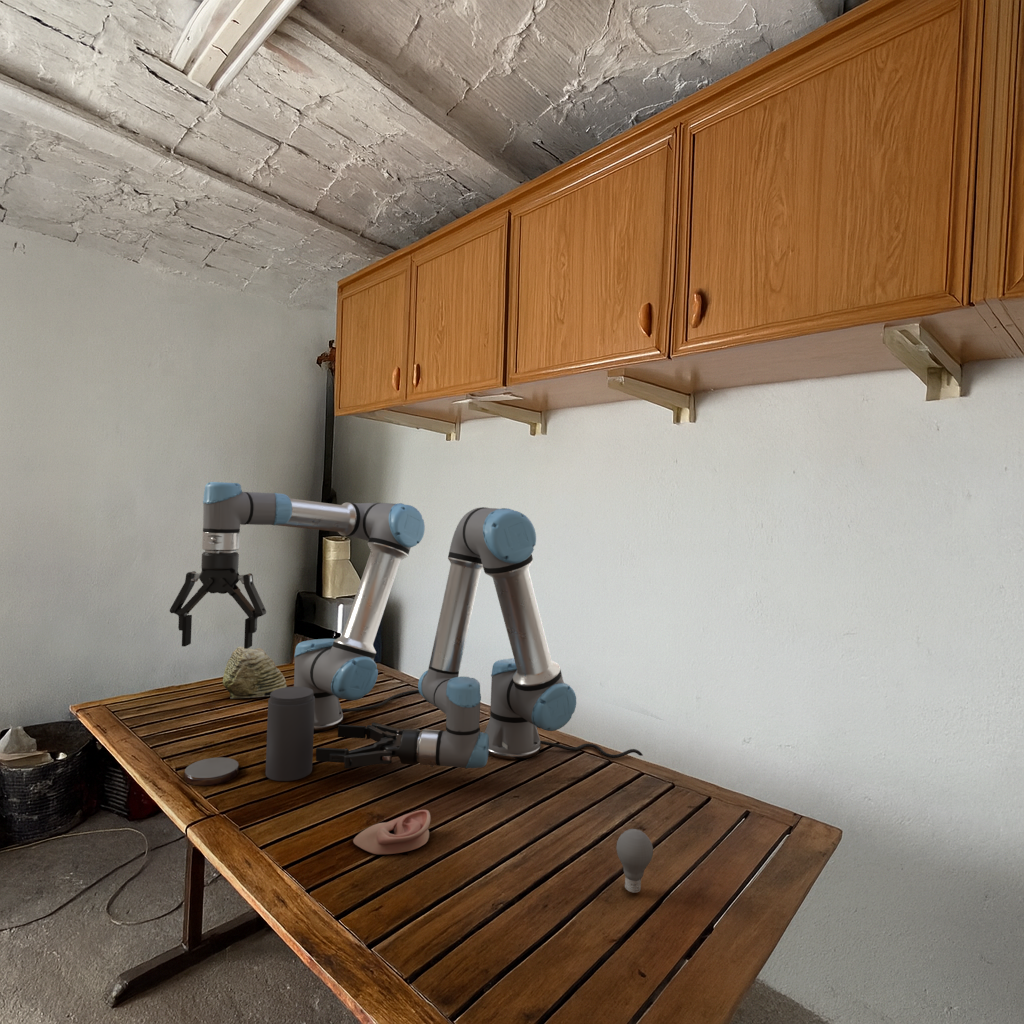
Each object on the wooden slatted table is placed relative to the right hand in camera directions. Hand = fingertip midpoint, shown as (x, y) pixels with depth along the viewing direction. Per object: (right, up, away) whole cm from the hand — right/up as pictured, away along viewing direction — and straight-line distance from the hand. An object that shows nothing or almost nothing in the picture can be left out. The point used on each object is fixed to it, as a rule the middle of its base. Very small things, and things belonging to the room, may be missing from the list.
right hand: (327, 742), depth 144 cm
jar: (-9, -7, +1) cm, 12 cm away
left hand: (-24, +22, -3) cm, 33 cm away
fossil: (-39, -5, +54) cm, 66 cm away
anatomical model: (+20, -9, -26) cm, 34 cm away
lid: (-25, -5, -2) cm, 26 cm away
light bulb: (+62, -11, -39) cm, 74 cm away
